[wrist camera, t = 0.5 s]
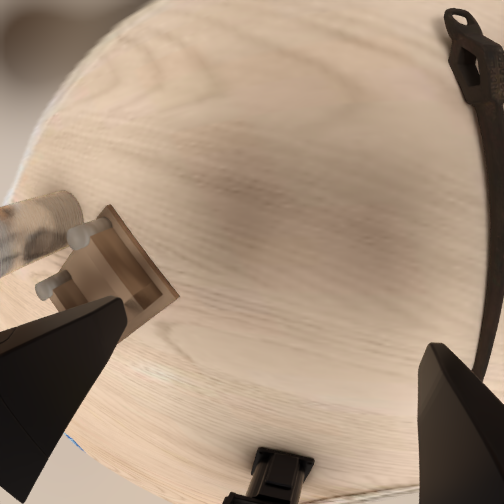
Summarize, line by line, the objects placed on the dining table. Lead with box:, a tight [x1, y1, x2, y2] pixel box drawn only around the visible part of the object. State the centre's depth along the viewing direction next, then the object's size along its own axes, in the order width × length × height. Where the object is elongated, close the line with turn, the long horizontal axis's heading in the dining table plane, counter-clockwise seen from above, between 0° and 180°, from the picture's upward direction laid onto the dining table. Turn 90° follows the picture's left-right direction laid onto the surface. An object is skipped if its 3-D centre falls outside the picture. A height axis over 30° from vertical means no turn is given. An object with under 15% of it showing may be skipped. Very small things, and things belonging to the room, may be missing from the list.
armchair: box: [35, 205, 179, 344], centre depth 26 cm, size 10×12×5 cm
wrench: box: [444, 8, 504, 382], centre depth 17 cm, size 5×5×30 cm
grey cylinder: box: [0, 191, 83, 278], centre depth 21 cm, size 6×6×14 cm
